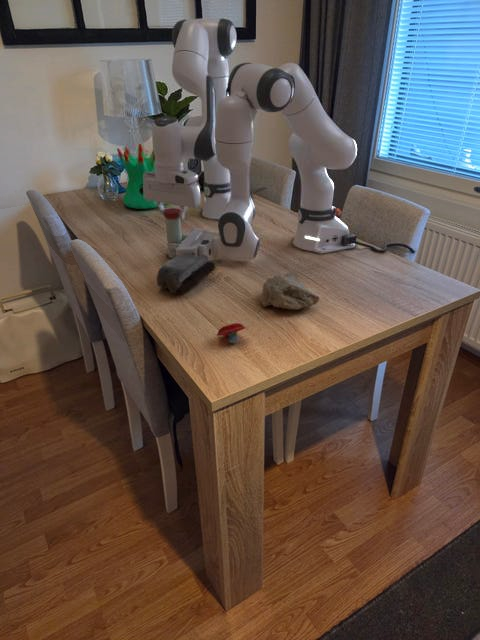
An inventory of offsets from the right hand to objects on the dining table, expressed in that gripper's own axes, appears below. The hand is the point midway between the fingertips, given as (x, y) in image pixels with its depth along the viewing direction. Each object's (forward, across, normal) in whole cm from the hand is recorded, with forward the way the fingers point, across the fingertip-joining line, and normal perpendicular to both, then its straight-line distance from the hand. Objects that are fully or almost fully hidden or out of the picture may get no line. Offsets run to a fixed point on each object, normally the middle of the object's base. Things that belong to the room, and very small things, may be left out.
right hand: (172, 241), depth 152 cm
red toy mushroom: (-32, +47, +5) cm, 57 cm away
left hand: (-1, 0, -9) cm, 9 cm away
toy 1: (+32, -53, +5) cm, 62 cm away
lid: (-1, 0, -10) cm, 11 cm away
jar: (-1, 0, +5) cm, 5 cm away
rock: (-12, +20, +5) cm, 24 cm away
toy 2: (+8, -83, +5) cm, 83 cm away
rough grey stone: (-42, +24, +5) cm, 49 cm away
